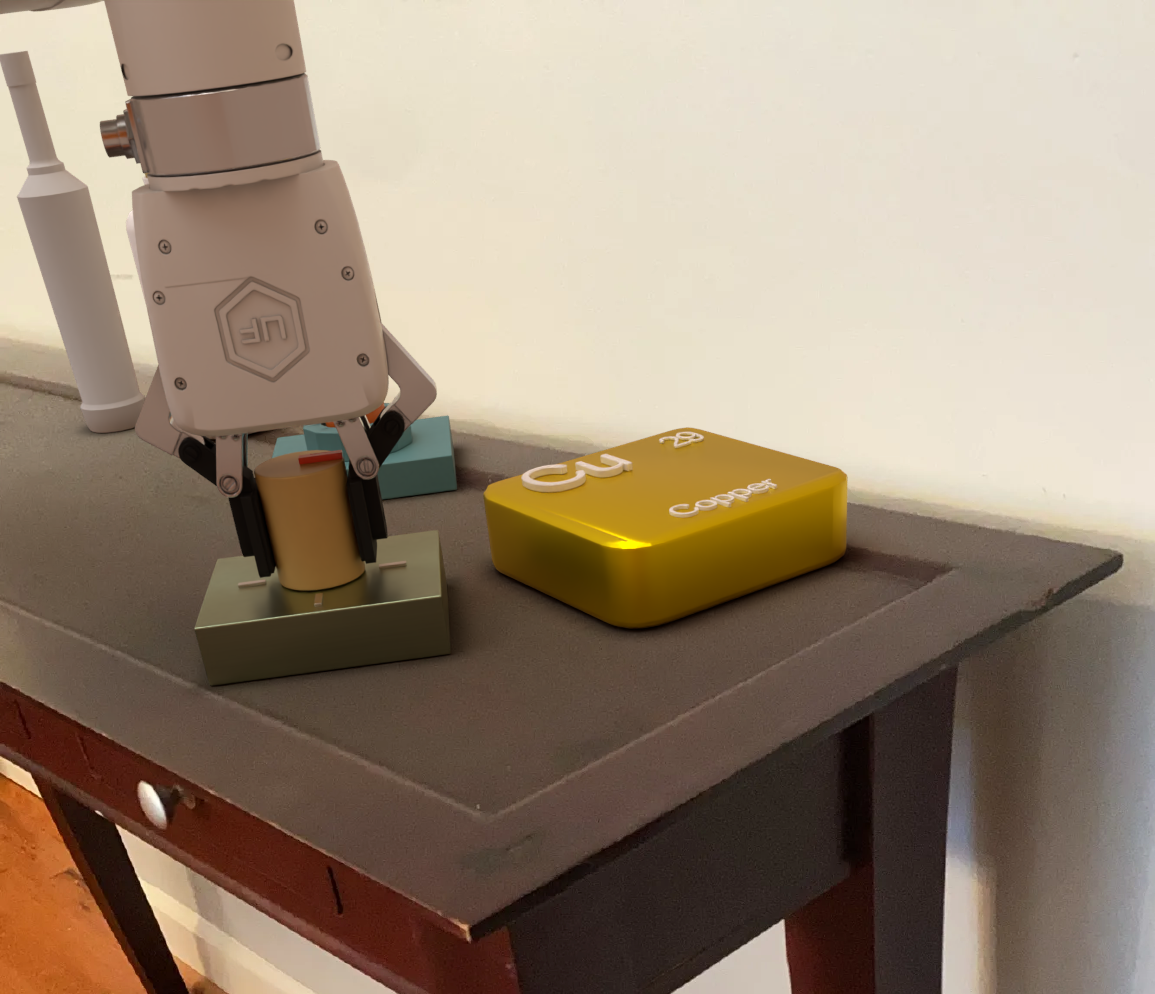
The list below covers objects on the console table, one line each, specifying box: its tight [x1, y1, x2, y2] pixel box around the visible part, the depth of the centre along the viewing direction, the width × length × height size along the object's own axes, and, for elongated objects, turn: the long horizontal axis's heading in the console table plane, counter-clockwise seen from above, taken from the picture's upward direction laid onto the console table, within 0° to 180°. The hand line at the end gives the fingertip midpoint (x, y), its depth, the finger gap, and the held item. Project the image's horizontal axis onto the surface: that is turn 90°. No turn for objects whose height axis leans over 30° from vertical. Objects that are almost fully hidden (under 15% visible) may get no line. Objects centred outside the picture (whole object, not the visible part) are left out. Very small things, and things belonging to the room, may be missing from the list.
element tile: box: [482, 426, 848, 629], centre depth 75 cm, size 15×15×5 cm
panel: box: [193, 529, 452, 687], centre depth 72 cm, size 12×10×3 cm
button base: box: [271, 402, 458, 501], centre depth 93 cm, size 12×10×4 cm
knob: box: [253, 450, 365, 590], centre depth 70 cm, size 4×4×6 cm
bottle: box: [0, 50, 146, 434], centre depth 107 cm, size 5×5×25 cm
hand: (319, 557), depth 71 cm, fingers closed on knob, 4 cm apart
